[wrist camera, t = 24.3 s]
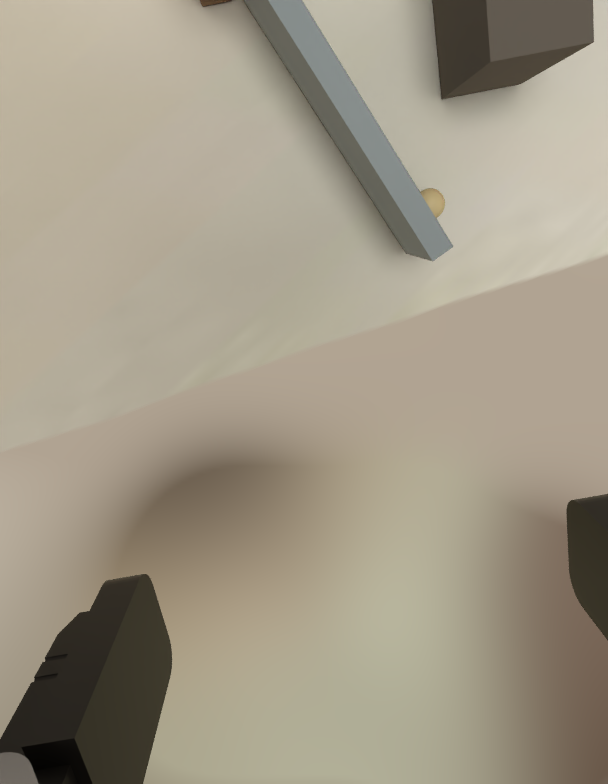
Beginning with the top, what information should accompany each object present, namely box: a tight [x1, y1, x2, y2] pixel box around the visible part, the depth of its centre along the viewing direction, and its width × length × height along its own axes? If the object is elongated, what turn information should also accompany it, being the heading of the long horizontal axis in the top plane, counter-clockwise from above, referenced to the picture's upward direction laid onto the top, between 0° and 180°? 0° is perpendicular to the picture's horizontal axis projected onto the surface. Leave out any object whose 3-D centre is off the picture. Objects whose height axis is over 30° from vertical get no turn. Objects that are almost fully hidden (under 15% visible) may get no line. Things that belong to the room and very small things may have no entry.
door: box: [244, 0, 453, 261], centre depth 28 cm, size 18×3×6 cm, turn 36°
